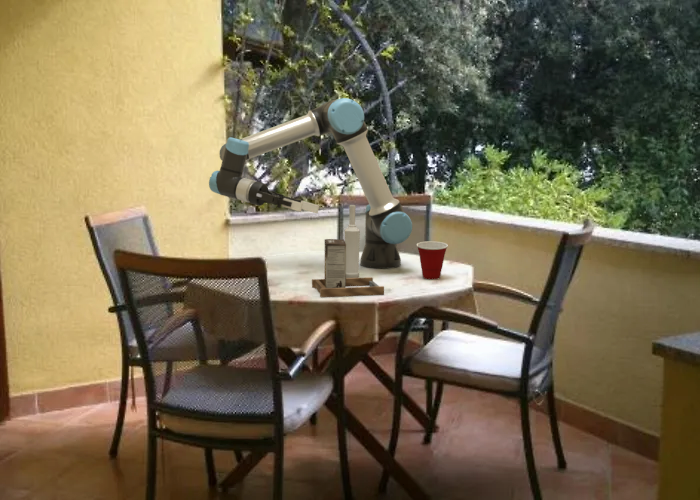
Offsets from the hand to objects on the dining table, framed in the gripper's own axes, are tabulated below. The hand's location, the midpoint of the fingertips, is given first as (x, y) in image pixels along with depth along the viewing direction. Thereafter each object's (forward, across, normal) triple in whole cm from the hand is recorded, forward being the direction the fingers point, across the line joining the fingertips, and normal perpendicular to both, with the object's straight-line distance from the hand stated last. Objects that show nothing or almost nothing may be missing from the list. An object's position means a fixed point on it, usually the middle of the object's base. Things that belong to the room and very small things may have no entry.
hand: (310, 208), depth 255 cm
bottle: (+12, -22, -20) cm, 32 cm away
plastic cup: (+37, -32, -14) cm, 51 cm away
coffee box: (+16, 0, -23) cm, 28 cm away
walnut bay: (+19, -2, -22) cm, 29 cm away
